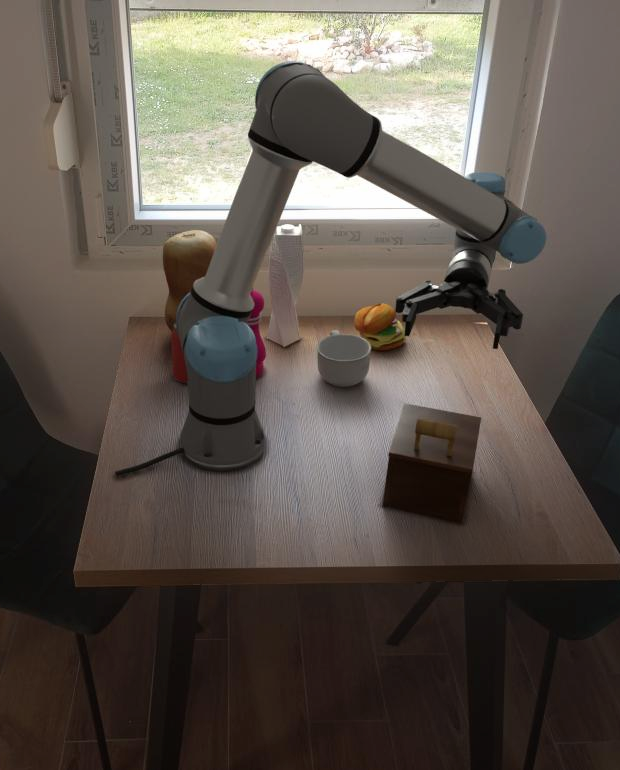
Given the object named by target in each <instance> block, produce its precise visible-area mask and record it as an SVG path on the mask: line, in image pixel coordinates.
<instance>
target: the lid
mask: <svg viewBox="0 0 620 770" xmlns="http://www.w3.org/2000/svg"><path fill="white" fill-rule="evenodd" d="M481 422H482V417H481V416H475V415H470V414H465V413H459V412H454V411H448V410H444V409H438V408H433V407H427V406H422V405H418V404H411V403H406V402H404V403H403V406H402V410H401V412H400V415H399V419H398V421H397V425H396V427H395V432H394V433H393V437H392V440H391V444H390V448H389V450H388V458H389V457H394V458H399V459H404V460H409V461H413V462H418V463H423V464H428V465H433V466H438V467H443V468H448V469H453V470H458V471H463V472H468V473H472V474H473V472H474V466H475V459H476V453H477V447H478V441H479V435H480V428H481Z"/></svg>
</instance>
